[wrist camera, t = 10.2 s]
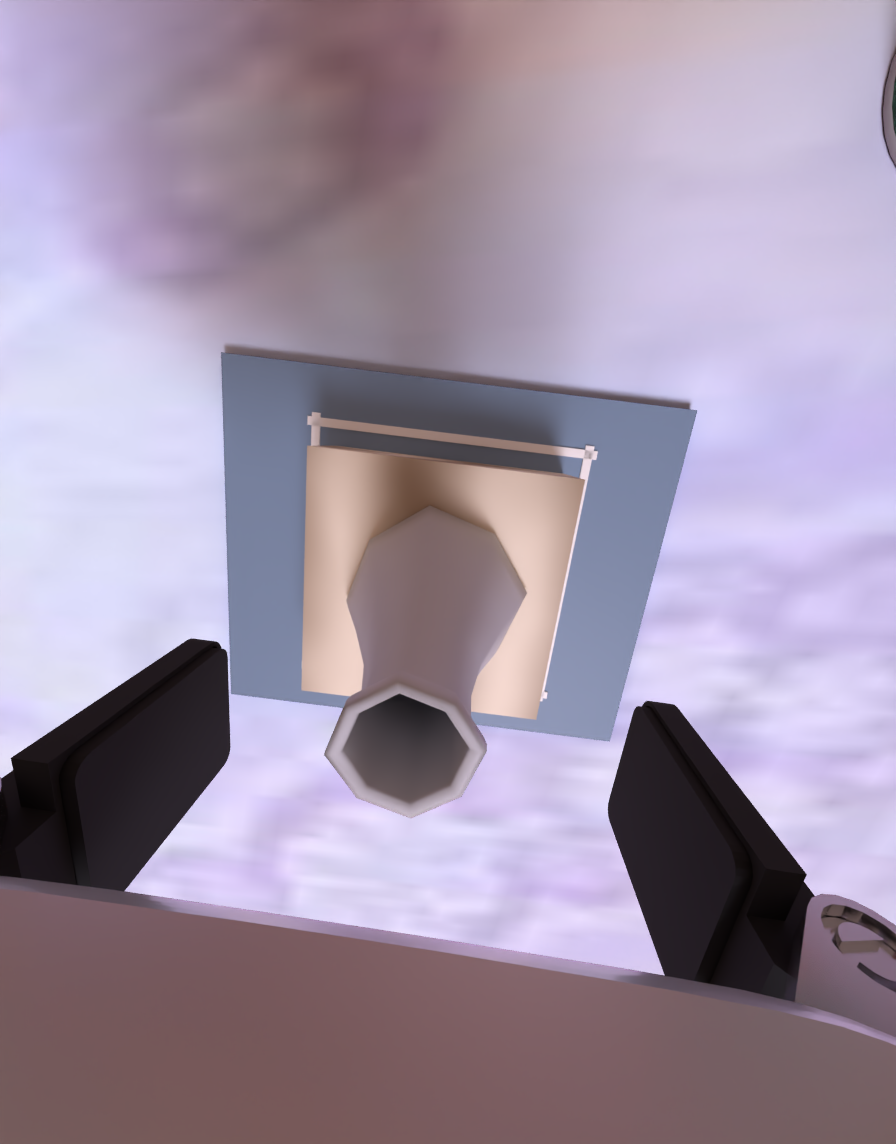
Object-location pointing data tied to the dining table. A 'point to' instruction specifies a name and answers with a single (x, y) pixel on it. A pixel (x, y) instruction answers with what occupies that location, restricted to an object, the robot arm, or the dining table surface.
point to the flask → (422, 660)
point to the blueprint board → (464, 433)
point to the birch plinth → (467, 491)
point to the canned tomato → (890, 110)
